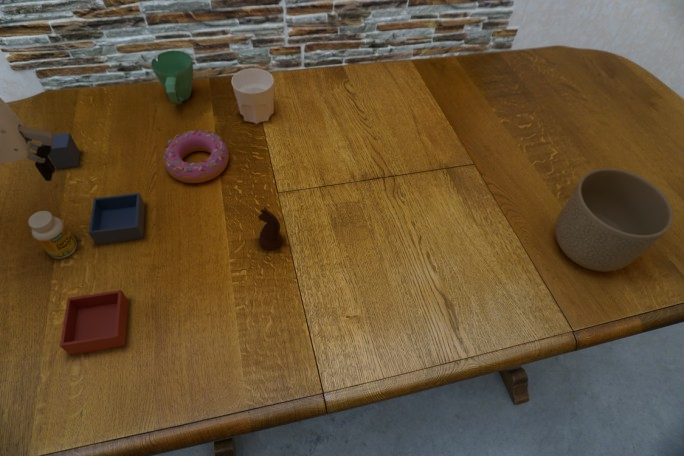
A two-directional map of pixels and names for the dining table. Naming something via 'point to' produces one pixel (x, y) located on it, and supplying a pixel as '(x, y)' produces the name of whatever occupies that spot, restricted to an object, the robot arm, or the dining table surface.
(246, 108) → the cup
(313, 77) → the dining table surface
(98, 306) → the red bin
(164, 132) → the dining table surface
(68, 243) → the supplement bottle
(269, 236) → the chess piece
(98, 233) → the blue bin
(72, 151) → the blue block
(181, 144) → the donut
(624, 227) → the planter
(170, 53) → the mug
